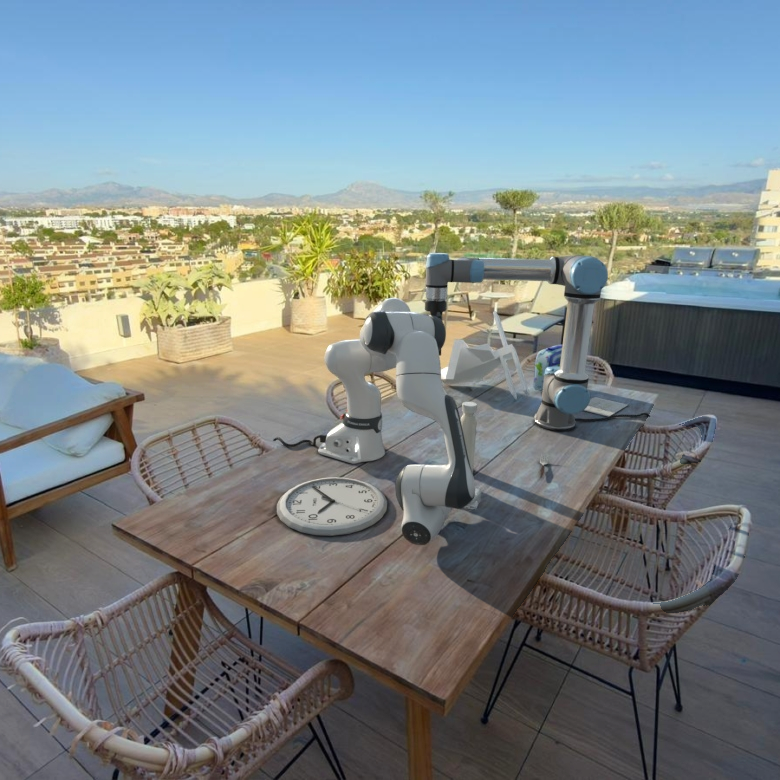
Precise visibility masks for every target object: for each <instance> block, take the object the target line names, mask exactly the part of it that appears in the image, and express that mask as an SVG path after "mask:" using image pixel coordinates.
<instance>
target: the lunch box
mask: <svg viewBox="0 0 780 780" xmlns="http://www.w3.org/2000/svg"><path fill="white" fill-rule="evenodd" d="M562 345H563V344H556V345H553V346H549V347H546V348H544V349H541V350H539V351H538V353H537V354H536V357H535V361H534V371H533V372H534V373H533V389H534V390H535V391H539V392H543V382H544V373H545V369H546V368H547V367H560V361H561V353H562Z"/></svg>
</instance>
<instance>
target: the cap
mask: <svg viewBox="0 0 780 780" xmlns="http://www.w3.org/2000/svg"><path fill="white" fill-rule="evenodd" d="M477 410H478V404H477V403H476V402H473V401H463V402H462V405H461V412H462V413H464V412H465V413H474V414H476V413H477Z"/></svg>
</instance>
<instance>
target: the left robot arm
mask: <svg viewBox="0 0 780 780" xmlns="http://www.w3.org/2000/svg"><path fill="white" fill-rule="evenodd" d="M442 321H443V319H442V320H441V319H440V318H438V317H436V316H433V315H430V314H429V313H425V314H423V313H419V312H412V311H411V309H410V307H409V305H408V304H407V303H406V302H405V301H404V300H402V299H400V298H397V297H390V298H387V299H384V300H383V301H381V303H379V304H378V305H377V306H376V307H375V308H374V309H373V310H372V312H370V313H369V314H368V315H367V316H366V317H365V319H364V322H363V325H362V327H361V328H360V331H359V338H358V339H345V340H340V341H337V342H334V343H330V344H329V345H328V346H327V348H326V350H325V352H324V356H323V357H324V358H323V359H324V365H325V366H326V368H327V369H326V370H328V371H329V372H330V373H331V374H332V375H334V376H335V377H336V378H338V380H339V381H340V382H341V384H342V385H343V388H344V390H345V395H346V410H345V411H344V412H343V413H342V415H340V419H339V420H340V421H341V420H342V421H341V422H340V423H339V424H337V425H335V427H333V428H332V429H330V430H328V429H324V430H323V431H322V432H321V433H320V434H318V435H316V436H315V437H314V438H313V440H311V439H302V440H300V441H298V442H296V443H287V442H285V441H284V440H283V439H282V438H281V437H279V436H276V437H274V438H273V439H272V441H273V442H276V441H279V442H280V443H281V444H282V445H284V446H285V447H288V448H294V447H298V446H299V445H301V444H304V443H309V444H310V445H311V446H312V447H314V446H316V444H317V439H319V442H320V443H321V444H320V446H319V447H318V454H319V455H321V456H324V457H329V458H332V459H335V460H338V461H342V462H346V463H348V464H353V465H355V464H360V463H363V462H372V461H376V460H379V459H381V458H383V457H384V456H385V455H386V450H385V446H384V442H383V434H382V430H383V413H382V393H381V390H380V388H379V387H378V386H377V385H375V384H374V383H371V382H369V381H366V375H367V374H372V373H381V372H387V371H390V370H394V369H395V390H396V395H397V399H398V401H399V402H400V403H401V404H402V405H403V407H405V408H406V409H407V410H409V411H411V412H412V413H416V414H418V415H421V416H423V417H427V418H429V419H431V420H433V421H435V422H436V423H437V424H438V425H439V426H440V428H441V429H442V433H443V438H444V443H445V448H446V453H447V456H448V457H447V459H448V463H447V464H427V463H426V464H423V463H421V464H420V463H419V464H418V463H417V464H407V465H405V466H404V467H403V468H402V469H401V471H400V472H399V474H398V475H397V477H396V479H395V485H394V486H395V487H394V490H395V491H394V492H395V497H396V501H397V503H398V505H399V507H400V509H401V510H402V511H403V516H402V520H401V526H400V531H401V534H402V536H403V538H404V539H405V540H406V541H407V542H409V543H411V545H412V544H413V545H416V546H426V545H429V544H430V543H432V542H433V541H434V540H435V539H436V537H437V536H438V535H439V533H440V532H441V530H442V529H443V526H444V524H445V521H446V520H447V519H448V517H449V515H450V514H451V511H452V510H453V509H456V510H460V511H466V512H471V511H473V510H477V509H478V507H479V504H480V502H481V500H482V490H481V488H480V487H478V486H476V481H475V477H474V474H473V473H474V472H473V473H472V470H471V466H470V463H469V459H468V454H467V449H466V444H465V439H464V434H463V429H462V425H461V416H460V412H459V409H458V408H459V407H458V406H457V402H456V400H455V398H454V397H453V396H451V395H449V394H448V393H447V392H446V390H445V387H444V384H443V381H442V380H441V369H442V367H441V365H442V364H441V358H440V356H439V351H440V350H441V351H442V349H443V347H444V346H445V342H446V337H447V330H446V329H447V328H446V325H445V324H444V322H442Z"/></svg>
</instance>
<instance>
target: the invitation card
mask: <svg viewBox="0 0 780 780" xmlns="http://www.w3.org/2000/svg"><path fill="white" fill-rule="evenodd" d="M628 406H629V404H627V403H623V402H618V401H614V400H609V399H605V398H601V397H596V396H593V397H592V398H590V402H589V404H588V406H587V407H586V408H585V409H584V410H583V411H584V412H587V413H593V414H596V415H600V416H604V417H610V416H613V415H615V414H616V413H617V412H619V411H621V410H623V409H624V408H626V407H628Z"/></svg>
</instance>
